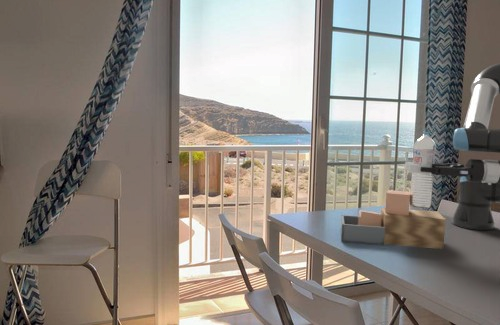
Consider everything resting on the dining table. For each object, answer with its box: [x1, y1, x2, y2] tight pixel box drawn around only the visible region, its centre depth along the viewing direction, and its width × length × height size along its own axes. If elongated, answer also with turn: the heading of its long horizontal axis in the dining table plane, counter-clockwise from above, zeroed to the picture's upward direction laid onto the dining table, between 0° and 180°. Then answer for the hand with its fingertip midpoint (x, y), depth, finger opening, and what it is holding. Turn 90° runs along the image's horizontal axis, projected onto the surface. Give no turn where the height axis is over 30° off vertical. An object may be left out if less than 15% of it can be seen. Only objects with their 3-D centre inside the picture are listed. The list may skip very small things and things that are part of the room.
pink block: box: [357, 209, 382, 227], centre depth 152 cm, size 8×7×7 cm
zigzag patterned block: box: [380, 207, 447, 250], centre depth 147 cm, size 19×12×10 cm, turn 79°
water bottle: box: [409, 131, 437, 209], centre depth 142 cm, size 7×7×25 cm
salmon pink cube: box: [385, 189, 411, 216], centre depth 147 cm, size 8×7×7 cm
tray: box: [340, 214, 385, 246], centre depth 151 cm, size 14×15×6 cm
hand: (407, 166), depth 143 cm, fingers closed on water bottle, 7 cm apart
